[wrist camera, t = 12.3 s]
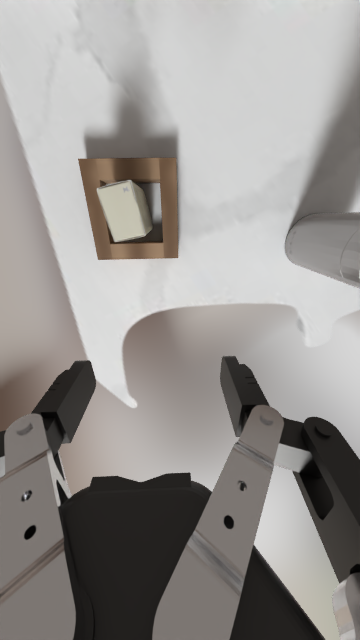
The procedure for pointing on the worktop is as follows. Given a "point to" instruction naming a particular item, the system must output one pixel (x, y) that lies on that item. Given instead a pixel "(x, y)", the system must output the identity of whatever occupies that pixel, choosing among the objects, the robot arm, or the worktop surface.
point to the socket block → (138, 172)
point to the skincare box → (125, 210)
